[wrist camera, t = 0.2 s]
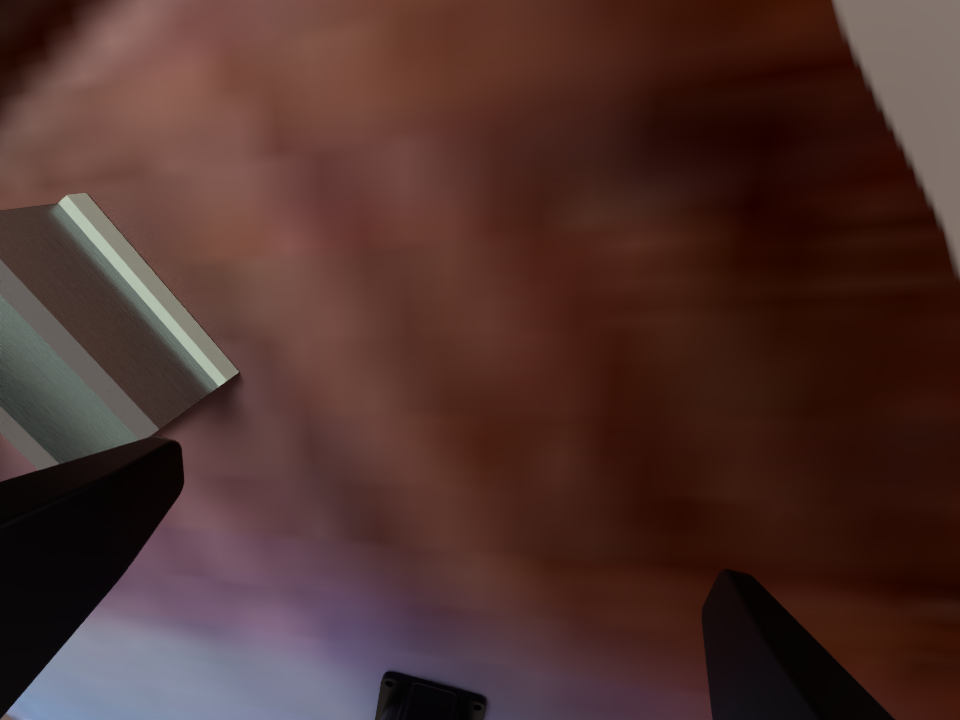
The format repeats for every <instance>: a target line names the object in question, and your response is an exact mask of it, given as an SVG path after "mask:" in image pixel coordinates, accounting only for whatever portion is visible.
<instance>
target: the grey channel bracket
mask: <svg viewBox="0 0 960 720" xmlns="http://www.w3.org/2000/svg"><path fill="white" fill-rule="evenodd" d="M238 373H239V371H238V370H237V369H236V368H235V367H234V365H233V364H232V363H231V362H230V361H229V360H228V358H227V357H226V356H225V355H224V354H223V353H222V351H221V350H220V349H219V348H218V347H217V345H216V344H215V343H214V342H213V341H212V340H211V338H210V337H209V336H208V335H207V334H206V333H205V331H204V330H203V329H202V328H201V327H200V326H199V324H198V323H197V322H196V321H195V320H194V319H193V317H192V316H191V315H190V314H189V313H188V312H187V310H186V309H185V308H184V307H183V306H182V305H181V303H180V302H179V301H178V300H177V299H176V298H175V296H174V295H173V294H172V293H171V292H170V290H169V289H168V288H167V287H166V286H165V285H164V283H163V282H162V281H161V280H160V279H159V278H158V276H157V275H156V274H155V273H154V272H153V271H152V269H151V268H150V267H149V266H148V265H147V264H146V262H145V261H144V260H143V259H142V258H141V257H140V255H139V254H138V253H137V252H136V251H135V250H134V248H133V247H132V246H131V245H130V244H129V243H128V241H127V240H126V239H125V238H124V237H123V235H122V234H121V233H120V232H119V231H118V230H117V228H116V227H115V226H114V225H113V224H112V223H111V221H110V220H109V219H108V218H107V217H106V216H105V214H104V213H103V212H102V211H101V210H100V209H99V207H98V206H97V205H96V204H95V203H94V202H93V200H92V199H91V198H90V197H89V196H88V195H87V193H81V194H71V195H66V196H65V197H64V198H63V199H62V200H61V201H60V202H59V203H56V204H48V205H40V206H32V207H24V208H16V209H8V210H0V433H1V434H2V435H3V436H4V437H5V438H6V439H7V440H8V441H9V442H10V443H11V444H12V445H13V446H14V447H15V448H16V449H17V450H18V451H19V452H20V453H21V454H23V455H24V456H25V457H26V458H27V459H28V460H29V461H30V462H31V463H32V464H33V465H34V466H35V467H36V468H37V469H38V470H41V469H45V468H48V467H51V466H55V465H58V464H61V463H64V462H68V461H71V460H74V459H78V458H81V457H84V456H88V455H91V454H94V453H98V452H101V451H104V450H108V449H111V448H114V447H118V446H121V445H124V444H127V443H131V442H134V441H137V440H141V439H144V438H147V437H149V436H151V435H152V434H154V433H155V432H156V431H158V430H159V429H161V428H162V427H163V426H165V425H166V424H168V423H169V422H170V421H172V420H173V419H175V418H176V417H177V416H179V415H180V414H182V413H183V412H184V411H186V410H187V409H189V408H190V407H191V406H193V405H194V404H196V403H197V402H198V401H200V400H201V399H203V398H204V397H205V396H207V395H208V394H209V393H211V392H212V391H214V390H215V389H216V388H218V387H219V386H221V385H222V384H224V383H225V382H226V381H228V380H229V379H231V378H232V377H233V376H235V375H236V374H238Z"/></svg>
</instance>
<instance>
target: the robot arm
mask: <svg viewBox="0 0 960 720" xmlns="http://www.w3.org/2000/svg"><path fill="white" fill-rule="evenodd" d="M183 486H184V470H183V458H182V448H181V445H180V444H179V442H177V441H175V440H172V439H168V438H163V437H159V436H151V437H147V438H144V439H141V440H137V441H134V442H131V443H127V444H124V445H121V446H118V447H114V448H111V449H108V450H104V451H101V452H98V453H94V454H91V455H88V456H84V457H81V458H78V459H74V460H71V461H68V462H64V463H61V464H58V465H55V466H51V467H48V468H45V469H41V470H38V471H35V472H31V473H28V474H25V475H21V476H18V477H15V478H11V479H8V480H5V481H1V482H0V719H1V718H2V717H3V716H4V714H5V713H6V712H7V711H8V710H9V709H10V707H11V706H12V705H13V704H14V703H15V702H16V700H17V699H18V698H19V697H20V696H21V694H22V693H23V692H24V691H25V690H26V689H27V687H28V686H29V685H30V684H31V683H32V682H33V680H34V679H35V678H36V677H37V676H38V675H39V673H40V672H41V671H42V670H43V669H44V667H45V666H46V665H47V664H48V663H49V662H50V660H51V659H52V658H53V657H54V656H55V655H56V653H57V652H58V651H59V650H60V649H61V648H62V646H63V645H64V644H65V643H66V642H67V640H68V639H69V638H70V637H71V636H72V635H73V633H74V632H75V631H76V630H77V629H78V628H79V626H80V625H81V624H82V623H83V622H84V621H85V619H86V618H87V617H88V616H89V615H90V613H91V612H92V611H93V610H94V609H95V608H96V606H97V605H98V604H99V603H100V602H101V601H102V599H103V598H104V597H105V596H106V595H107V594H108V592H109V591H110V590H111V589H112V588H113V586H114V585H115V584H116V583H117V581H118V580H119V579H120V578H121V577H122V575H123V574H124V573H125V571H126V570H127V569H128V567H129V566H130V565H131V563H132V562H133V561H134V559H135V558H136V557H137V555H138V554H139V552H140V551H141V549H142V548H143V547H144V545H145V544H146V542H147V541H148V539H149V538H150V537H151V535H152V534H153V532H154V531H155V529H156V528H157V527H158V525H159V524H160V522H161V521H162V519H163V518H164V517H165V515H166V514H167V512H168V511H169V509H170V508H171V507H172V505H173V504H174V502H175V501H176V499H177V498H178V497H179V495H180V493H181V491H182V489H183ZM702 628H703V638H704V647H705V656H706V665H707V675H708V684H709V693H710V703H711V711H712V718H713V720H895V719H894V718H893V717H892V716H891V715H890V714H889V713H888V712H887V711H886V710H885V709H884V708H883V707H882V706H881V705H880V704H879V703H878V702H877V701H876V700H875V699H874V698H873V697H872V696H871V695H870V694H869V693H868V692H867V691H866V690H865V689H864V688H863V687H862V686H861V685H860V684H859V683H858V682H857V681H856V680H855V679H854V678H853V677H852V676H851V675H850V674H849V673H848V672H847V671H846V670H845V669H844V668H843V667H842V666H841V665H840V664H839V663H838V662H837V661H836V660H835V659H834V658H833V657H832V656H831V655H830V654H829V653H828V652H827V650H826V649H825V648H824V647H823V646H822V645H821V644H820V643H819V642H818V641H817V640H816V639H815V638H814V637H813V636H812V635H811V634H810V633H809V632H808V631H807V630H806V629H805V628H804V627H803V626H802V625H801V624H800V623H799V622H798V621H797V620H796V619H795V618H794V617H793V616H792V615H791V614H790V613H789V612H788V611H787V610H786V609H785V608H784V607H783V606H782V605H781V604H780V603H779V602H778V601H777V600H776V599H775V598H774V597H773V596H772V595H771V594H770V593H769V592H768V591H767V590H766V589H765V588H764V587H763V586H762V585H761V584H760V583H759V582H758V581H757V580H756V579H755V578H754V577H753V576H751V575H749V574H747V573H743V572H739V571H734V570H730V569H724V570H722V571H721V572H720V573H719V574H718V576H717V578H716V580H715V582H714V584H713V586H712V588H711V590H710V592H709V594H708V596H707V598H706V601H705V603H704V605H703V609H702ZM485 710H486V700H485V699H484V698H483V697H481V696H478V695H474V694H471V693H467V692H463V691H460V690H456V689H452V688H448V687H445V686H441V685H437V684H434V683H430V682H426V681H422V680H419V679H415V678H411V677H407V676H404V675H400V674H396V673H393V672H386V673H385V674H384V675H383V678H382V681H381V687H380V693H379V699H378V705H377V711H376V718H375V720H483V717H484V713H485Z"/></svg>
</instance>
